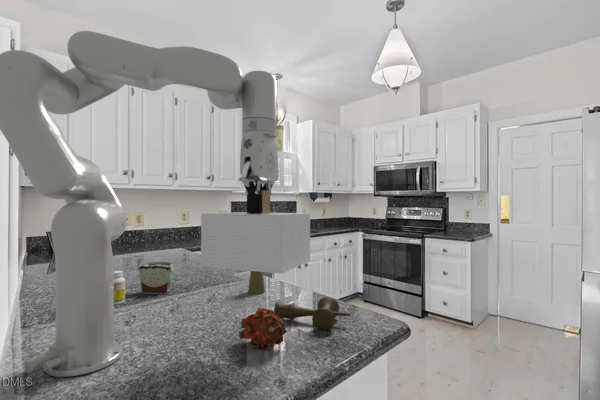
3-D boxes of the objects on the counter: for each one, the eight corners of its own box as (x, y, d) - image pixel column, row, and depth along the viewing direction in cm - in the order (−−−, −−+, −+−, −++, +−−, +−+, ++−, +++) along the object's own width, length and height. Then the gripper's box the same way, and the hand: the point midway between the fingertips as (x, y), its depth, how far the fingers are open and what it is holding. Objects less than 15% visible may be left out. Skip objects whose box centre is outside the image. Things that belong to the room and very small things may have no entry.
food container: (179, 289, 116) (180, 261, 117) (171, 294, 110) (171, 265, 110) (147, 288, 118) (147, 261, 118) (137, 293, 112) (137, 264, 112)
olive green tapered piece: (244, 293, 111) (245, 261, 111) (252, 289, 117) (252, 258, 117) (261, 295, 109) (261, 262, 109) (268, 290, 115) (268, 259, 115)
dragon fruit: (283, 362, 66) (243, 355, 73) (300, 327, 72) (262, 323, 79) (263, 336, 62) (222, 330, 69) (282, 301, 68) (244, 299, 75)
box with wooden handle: (282, 273, 60) (283, 188, 60) (200, 266, 67) (201, 189, 67) (310, 260, 75) (310, 191, 75) (240, 255, 81) (241, 192, 82)
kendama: (281, 315, 91) (352, 319, 86) (270, 329, 82) (349, 334, 77) (280, 294, 91) (351, 296, 86) (269, 305, 82) (348, 309, 77)
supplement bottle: (128, 301, 102) (129, 271, 102) (111, 306, 97) (112, 274, 97) (118, 299, 105) (119, 269, 105) (101, 303, 100) (102, 272, 100)
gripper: (256, 119, 62) (255, 214, 62) (289, 136, 78) (288, 212, 77) (223, 122, 65) (222, 213, 65) (261, 138, 80) (261, 212, 80)
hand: (258, 212), depth 71 cm, fingers closed on box with wooden handle, 3 cm apart
